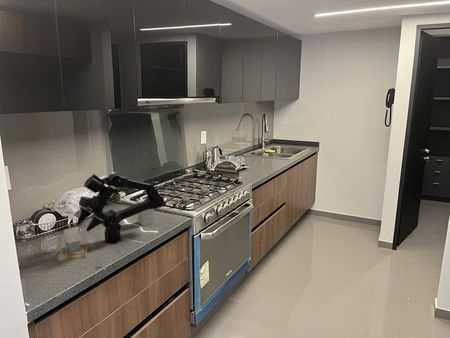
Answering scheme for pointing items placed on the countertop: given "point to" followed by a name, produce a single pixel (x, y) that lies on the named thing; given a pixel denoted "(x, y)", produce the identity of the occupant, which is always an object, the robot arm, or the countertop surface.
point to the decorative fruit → (78, 214)
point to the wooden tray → (65, 255)
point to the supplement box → (146, 216)
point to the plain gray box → (72, 240)
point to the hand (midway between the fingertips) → (82, 227)
